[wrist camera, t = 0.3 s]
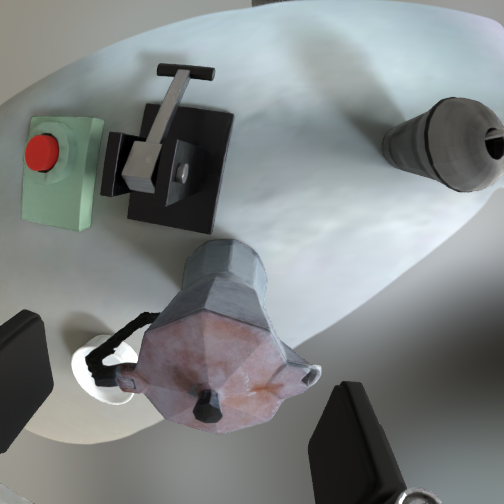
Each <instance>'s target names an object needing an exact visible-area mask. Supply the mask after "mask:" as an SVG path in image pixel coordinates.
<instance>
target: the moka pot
mask: <svg viewBox="0 0 504 504" xmlns="http://www.w3.org/2000/svg"><path fill="white" fill-rule="evenodd" d="M266 287H267V273H266V271H265V268H264V266H263V263H262V261H261V259H260V257H259V255H258V254H257V253H256V252H255V251H254V250H253V249H251V248H249V247H248V246H246V245H245V244H243V243H241V242H239V241H237V240H234V239H222V240H212V241H208V242H206V243H204V244H203V245H201V246H200V247H199V248H198V249H197V250H196V251H194V252H193V253H192V255H191V256H189V257H188V259H187V260H186V264H185V270H184V275H183V281H182V289H181V291H180V292H179V293H178V294H177V295H176V296H175V297H174V298H173V300H172V301H171V302H170V303H169V305H168V306H167V307H166V308H165V309H164V310H163V311H162V312H161V313H160V312H159V313H149V312H144V313H141V314H140V315H139V316H138V317H137V318H136V319H134V320H132V321H131V322H129V323H128V324H127V325H126V326H125V327H124V328H122V329H121V330H119V331H118V332H117V333H115V334H114V336H111V337H110V338H109V339H107V341H106V342H104V343H102V344H101V345H100V346H99V347H97V348H95V349H93V350H92V351H91V352H90V353H89V354H88V355H87V356H85V362H86V365H87V366H88V371H89V372H91V373H92V375H91V377H92V378H94V380H95V385H96V386H97V387H117V386H119V388H120V389H121V390H122V391H123V392H130V393H138V394H140V393H143V394H144V395H145V396H146V397H147V398H148V399H149V400H150V402H151V403H152V404H153V405H154V406H155V408H156V409H157V410H158V411H159V412H160V414H161V415H162V416H163V417H164V418H165V419H166V420H169V421H172V422H175V423H178V424H182V425H185V426H188V427H191V428H195V429H198V430H202V431H206V432H209V433H214V434H218V435H219V434H224V433H229V432H232V431H236V430H239V429H242V428H246V427H250V426H254V425H258V424H261V423H265V422H267V421H269V420H271V418H272V417H273V415H274V414H275V413H276V411H277V409H278V408H279V406H280V405H281V403H282V402H283V400H284V399H285V398H289V397H291V396H294V395H297V394H299V393H302V392H305V391H306V390H307V389H308V387H310V386H311V385H313V384H315V383H316V382H317V380H318V379H319V378H320V376H321V366H319V365H313V364H310V363H309V362H307V361H306V360H305V359H303V358H301V357H300V356H299V355H298V354H297V353H296V352H294V351H293V350H292V349H291V348H290V347H288V346H287V345H286V344H284V343H283V342H282V341H281V340H280V339H279V338H278V336H277V334H276V332H275V329H274V327H273V325H272V322H271V320H270V318H269V316H268V314H267V312H266V310H265V308H264V302H265V295H266ZM151 323H152V324H151ZM147 324H151V325H150V327H149V328H148V329H147V330H146V331H145V333H144V336H143V339H142V344H141V349H140V353H139V357H138V361H137V363H132V362H125V363H120V364H116V365H110V366H107V365H103V363H102V360H103V359H105V358H106V357H107V356H109V355H111V354H114V352H115V351H116V350H114V348H117V347H118V346H119V345H120V344H121V343H122V342H123V340H125V339H126V338H128V337H129V336H130V335H132V333H133V332H134V331H136V330H137V329H139V327H140V328H142V327H143V326H145V325H147Z"/></svg>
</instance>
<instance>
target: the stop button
mask: <svg viewBox="0 0 504 504" xmlns="http://www.w3.org/2000/svg"><path fill="white" fill-rule="evenodd" d="M58 154H59V147H58V143H57V141H56V140H55V139H54V138H53V137H52V136H46V135H37V136H34V137H33V138H32V139H31V140H30V141H29V142H28V144H27V146H26V150H25V161H26V164H27V166H28V167H29V168H30V169H31V170H33V171H40V170H48V169H50V168H51V167H53V165H54V164H55V163H56V161H57V158H58Z"/></svg>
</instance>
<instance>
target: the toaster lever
mask: <svg viewBox="0 0 504 504" xmlns="http://www.w3.org/2000/svg"><path fill="white" fill-rule="evenodd" d="M157 75H158V76H167V77H174V79H173V81H172V83H171V85H170V87H169V90H168V92H167V94H166V96H165V98H164V100H163V102H162V105H161V107H160V109H159V111H158V114H157V116H156V118H155V121H154V123H153V125H152V128H151V130H150V132H149V135H148V137H147V140H146V142H140V141H134V143H133V146H132V148H131V151H130V153H129V155H128V158H127V161H126V163H125V166H124V168H123V171H122V174H121V175H122V177H123V179H124V180H125V182H126V184H127V185H128V187H129V189H130V190H135V191H142V192H148V193H154V191H155V185H156V178H157V172H158V166H159V161H160V155H161V149H162V144H163V139H164V138H166V136H167V134H168V131H169V129H170V126H171V124H172V121H173V119H174V116H175V114H176V111H177V109H178V106H179V104H180V102H181V99H182V97H183V95H184V92H185V90H186V88H187V85H188V83H189V81H190V79H200V80H209V81H213V79H214V76H215V68H211V67H202V66H192V65H180V64H165V63H160V64H159V65H158V67H157Z"/></svg>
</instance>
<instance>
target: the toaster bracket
mask: <svg viewBox="0 0 504 504" xmlns="http://www.w3.org/2000/svg"><path fill="white" fill-rule="evenodd" d="M160 107H161V105H160V104H148V103H147V104H146V107H145V111H144V116H143V121H142V126H141V131H140V136H134V135H130V134H125V133H119V132H110V133H109V138H108V143H107V149H106V155H105V162H104V169H103V176H102V184H101V192H100V195H101V196H107V197H114V196H118V195H123V194H127V193H130V199H129V207H128V216H127V219H132V220H137V221H142V222H147V223H153V224H158V225H163V226H168V227H174V228H179V229H184V230H189V231H194V232H200V233H205V234H211V233H212V232H213V226H214V221H215V215H216V209H217V204H218V198H219V193H220V188H221V182H222V177H223V172H224V167H225V162H226V156H227V151H228V146H229V142H230V137H231V132H232V127H233V122H234V117H235V116H234V114H231V113H225V112H218V111H211V110H204V109H197V108H188V107H180V106H178V109H177V111H176V114H175V116H174V119H173V121H172V124H171V126H170V129H169V131H168V134H167V136H166V138H164V139H163V144H162V149H161V155H160V161H159V166H158V172H157V178H156V185H155V191H154V193H148V192H142V191H135V190H130V189H129V187H128V185H127V184H126V182H125V180H124V179H123V177H122V175H121V174H122V171H123V168H124V166H125V163H126V161H127V158H128V155H129V153H130V151H131V148H132V146H133V143H134V141H140V142H146V140H147V137H148V135H149V132H150V130H151V128H152V125H153V123H154V121H155V118H156V116H157V114H158V111H159V109H160Z"/></svg>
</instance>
